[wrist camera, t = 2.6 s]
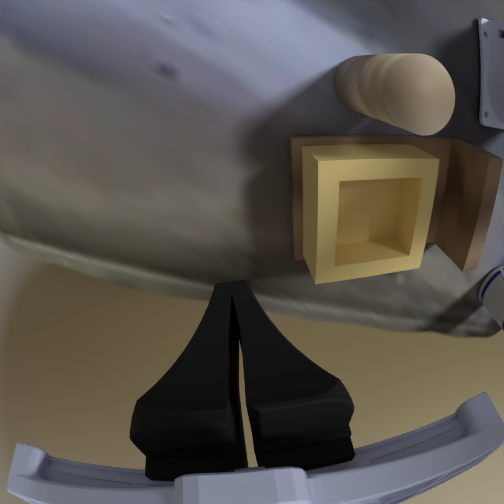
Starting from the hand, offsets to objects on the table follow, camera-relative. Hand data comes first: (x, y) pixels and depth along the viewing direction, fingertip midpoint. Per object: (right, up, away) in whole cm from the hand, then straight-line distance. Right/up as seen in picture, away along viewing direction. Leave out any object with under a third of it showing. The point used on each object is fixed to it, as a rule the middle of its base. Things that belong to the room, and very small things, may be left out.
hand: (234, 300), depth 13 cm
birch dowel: (+8, +13, +4) cm, 16 cm away
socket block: (+8, +6, +8) cm, 13 cm away
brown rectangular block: (+11, +6, +8) cm, 15 cm away
